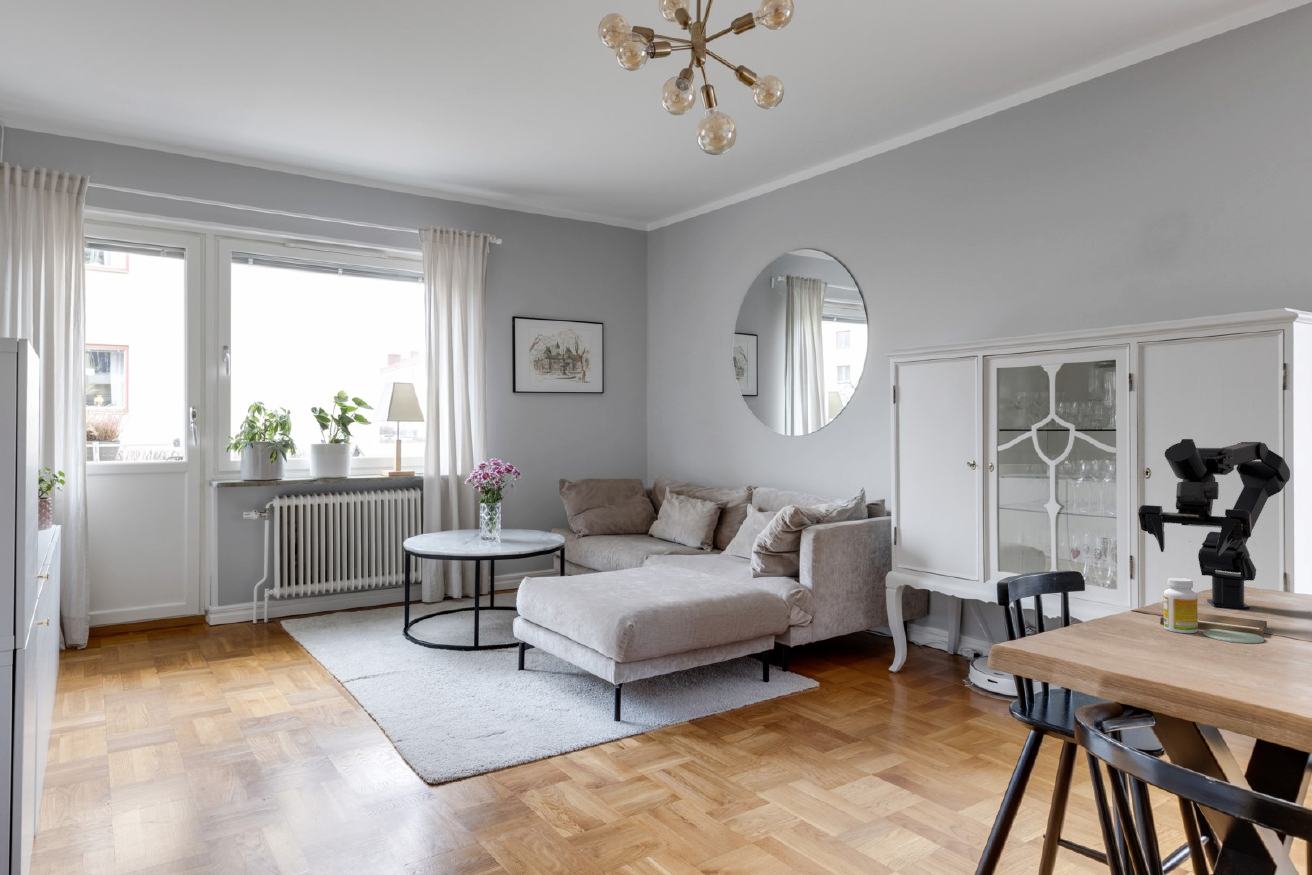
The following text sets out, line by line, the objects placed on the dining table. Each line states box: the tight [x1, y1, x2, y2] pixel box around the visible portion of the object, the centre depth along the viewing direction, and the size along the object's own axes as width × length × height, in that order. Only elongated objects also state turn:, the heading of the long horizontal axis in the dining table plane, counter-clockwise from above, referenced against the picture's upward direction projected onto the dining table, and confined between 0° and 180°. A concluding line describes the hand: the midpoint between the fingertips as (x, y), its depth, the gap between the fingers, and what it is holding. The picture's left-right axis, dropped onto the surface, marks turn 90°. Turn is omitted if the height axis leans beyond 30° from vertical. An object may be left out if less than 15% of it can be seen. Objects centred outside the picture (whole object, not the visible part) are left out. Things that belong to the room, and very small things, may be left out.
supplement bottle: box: [1163, 577, 1199, 634], centre depth 152 cm, size 5×5×10 cm
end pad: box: [1203, 629, 1265, 644], centre depth 147 cm, size 9×9×1 cm
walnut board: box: [1159, 612, 1268, 637], centre depth 156 cm, size 16×10×1 cm, turn 48°
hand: (1189, 552), depth 158 cm, fingers open, 9 cm apart
